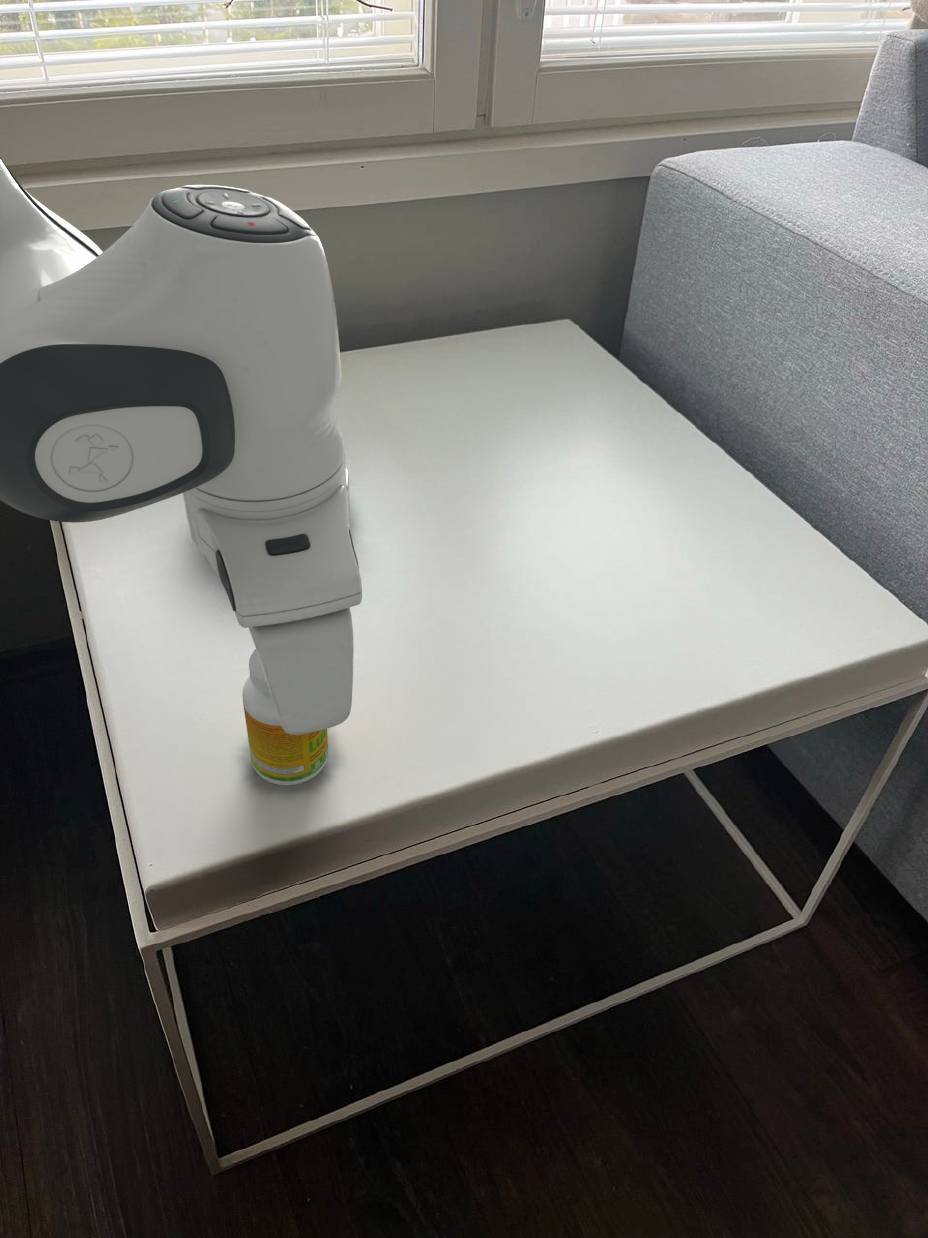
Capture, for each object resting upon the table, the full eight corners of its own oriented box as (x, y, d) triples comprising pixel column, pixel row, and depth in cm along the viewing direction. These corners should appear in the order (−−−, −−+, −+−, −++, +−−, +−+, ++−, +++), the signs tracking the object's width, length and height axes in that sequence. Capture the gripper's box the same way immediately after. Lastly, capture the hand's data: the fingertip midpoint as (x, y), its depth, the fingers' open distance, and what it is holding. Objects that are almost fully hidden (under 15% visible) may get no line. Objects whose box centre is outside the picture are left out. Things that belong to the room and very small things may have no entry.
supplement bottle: (323, 790, 67) (316, 692, 60) (245, 786, 67) (229, 688, 60) (333, 730, 71) (327, 633, 64) (258, 726, 71) (246, 629, 64)
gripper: (182, 411, 60) (212, 582, 69) (242, 628, 46) (270, 805, 55) (284, 397, 62) (300, 565, 71) (371, 602, 48) (377, 778, 57)
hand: (287, 672), depth 63 cm, fingers open, 8 cm apart
